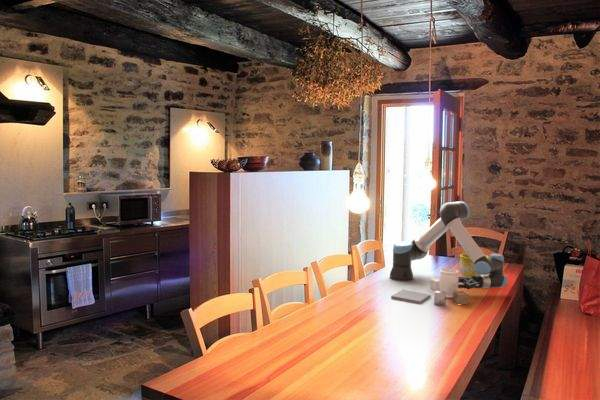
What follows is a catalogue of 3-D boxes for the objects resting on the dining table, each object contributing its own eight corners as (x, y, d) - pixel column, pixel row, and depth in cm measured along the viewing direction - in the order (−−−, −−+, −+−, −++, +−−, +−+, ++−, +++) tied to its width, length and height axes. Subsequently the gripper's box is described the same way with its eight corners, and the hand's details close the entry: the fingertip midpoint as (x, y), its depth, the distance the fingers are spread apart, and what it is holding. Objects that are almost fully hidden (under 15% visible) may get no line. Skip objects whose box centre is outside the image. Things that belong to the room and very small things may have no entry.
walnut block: (452, 302, 278) (452, 291, 278) (462, 301, 279) (462, 291, 279) (457, 305, 272) (458, 294, 272) (468, 304, 274) (468, 294, 273)
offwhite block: (430, 288, 306) (430, 278, 305) (439, 288, 307) (439, 278, 306) (434, 291, 300) (435, 281, 299) (444, 290, 301) (444, 280, 300)
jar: (455, 293, 294) (456, 268, 293) (459, 299, 284) (460, 272, 283) (437, 293, 295) (438, 268, 294) (440, 298, 285) (441, 272, 284)
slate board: (402, 292, 297) (402, 289, 297) (430, 297, 287) (430, 294, 287) (391, 298, 284) (391, 295, 284) (420, 303, 274) (420, 301, 274)
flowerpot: (492, 284, 316) (493, 259, 314) (463, 284, 316) (464, 258, 314) (482, 277, 333) (483, 253, 332) (455, 277, 334) (456, 252, 332)
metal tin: (436, 302, 278) (436, 289, 277) (447, 304, 275) (447, 291, 274) (432, 304, 273) (432, 292, 272) (443, 306, 270) (443, 294, 269)
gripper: (492, 293, 281) (457, 295, 277) (469, 282, 305) (436, 283, 301) (492, 280, 280) (457, 282, 276) (469, 270, 304) (436, 271, 300)
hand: (446, 282), depth 288 cm, fingers open, 13 cm apart
